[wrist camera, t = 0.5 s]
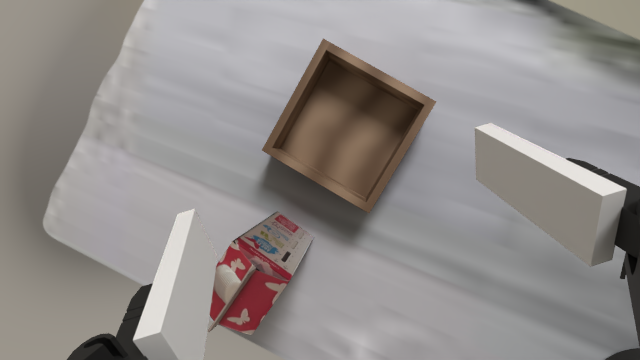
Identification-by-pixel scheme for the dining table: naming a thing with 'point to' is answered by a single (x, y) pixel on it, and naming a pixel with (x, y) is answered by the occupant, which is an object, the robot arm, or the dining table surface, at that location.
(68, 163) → the dining table surface
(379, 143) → the walled box
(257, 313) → the juice carton
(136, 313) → the robot arm
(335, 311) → the dining table surface
